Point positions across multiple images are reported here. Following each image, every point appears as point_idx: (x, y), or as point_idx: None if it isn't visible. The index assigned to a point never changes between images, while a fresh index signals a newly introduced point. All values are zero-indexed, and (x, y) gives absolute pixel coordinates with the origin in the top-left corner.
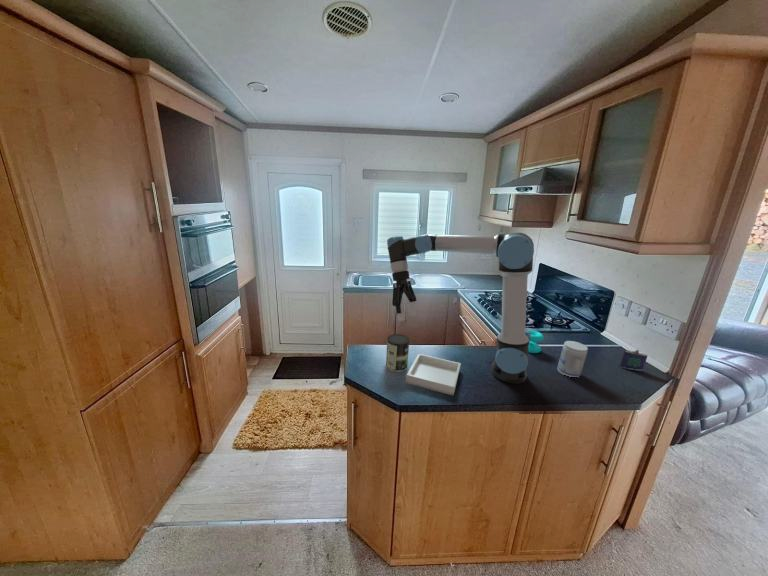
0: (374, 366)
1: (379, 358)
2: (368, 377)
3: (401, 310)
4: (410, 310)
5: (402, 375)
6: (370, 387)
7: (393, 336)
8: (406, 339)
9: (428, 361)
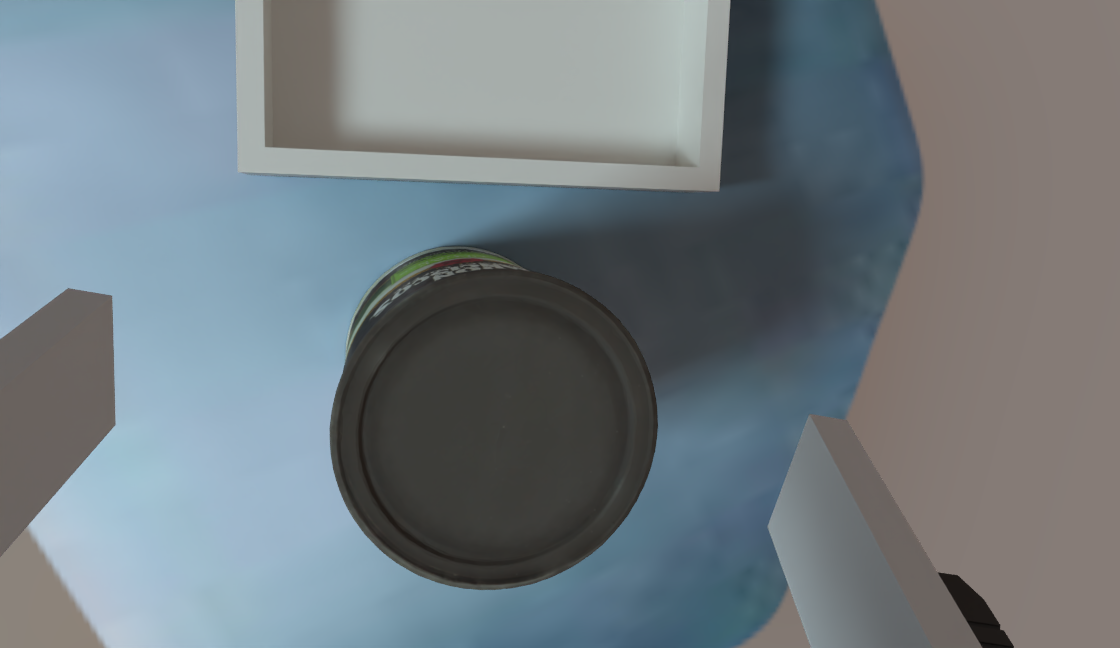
0: None
1: None
2: (725, 507)
3: (936, 594)
4: (39, 496)
5: (587, 253)
6: None
7: (449, 523)
8: (459, 323)
9: (270, 43)
